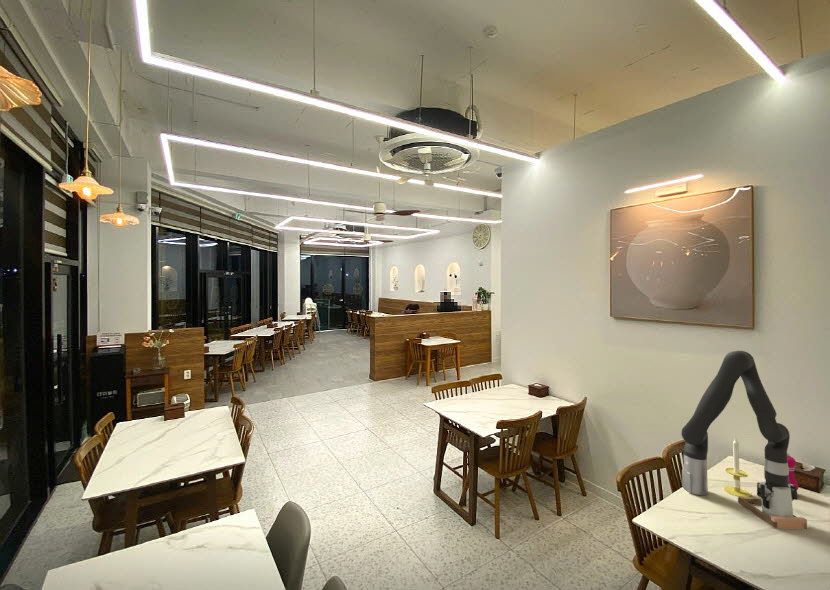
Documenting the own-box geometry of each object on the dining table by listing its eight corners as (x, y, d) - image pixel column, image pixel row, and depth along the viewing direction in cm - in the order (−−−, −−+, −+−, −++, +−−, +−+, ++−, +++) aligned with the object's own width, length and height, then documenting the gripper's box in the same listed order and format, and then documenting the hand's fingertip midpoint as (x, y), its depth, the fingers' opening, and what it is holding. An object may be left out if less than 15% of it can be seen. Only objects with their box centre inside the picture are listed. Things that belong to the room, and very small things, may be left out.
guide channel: (774, 528, 151) (774, 522, 151) (738, 502, 170) (738, 497, 170) (807, 529, 150) (806, 523, 150) (766, 503, 169) (766, 497, 169)
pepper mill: (803, 498, 172) (801, 456, 172) (785, 496, 174) (784, 455, 174) (790, 490, 179) (789, 449, 179) (773, 489, 181) (772, 448, 181)
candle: (748, 490, 180) (746, 435, 180) (753, 499, 172) (751, 442, 172) (722, 484, 185) (720, 432, 186) (725, 494, 177) (724, 438, 177)
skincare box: (794, 524, 153) (793, 489, 153) (783, 526, 152) (782, 490, 152) (771, 513, 161) (770, 479, 161) (760, 514, 160) (759, 481, 160)
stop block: (774, 528, 151) (774, 518, 151) (771, 525, 152) (770, 516, 152) (807, 529, 150) (806, 519, 150) (803, 527, 151) (803, 517, 151)
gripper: (765, 474, 153) (766, 512, 153) (802, 475, 152) (803, 514, 152) (751, 466, 161) (752, 502, 161) (786, 466, 159) (787, 504, 159)
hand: (777, 508), depth 156 cm, fingers open, 8 cm apart
